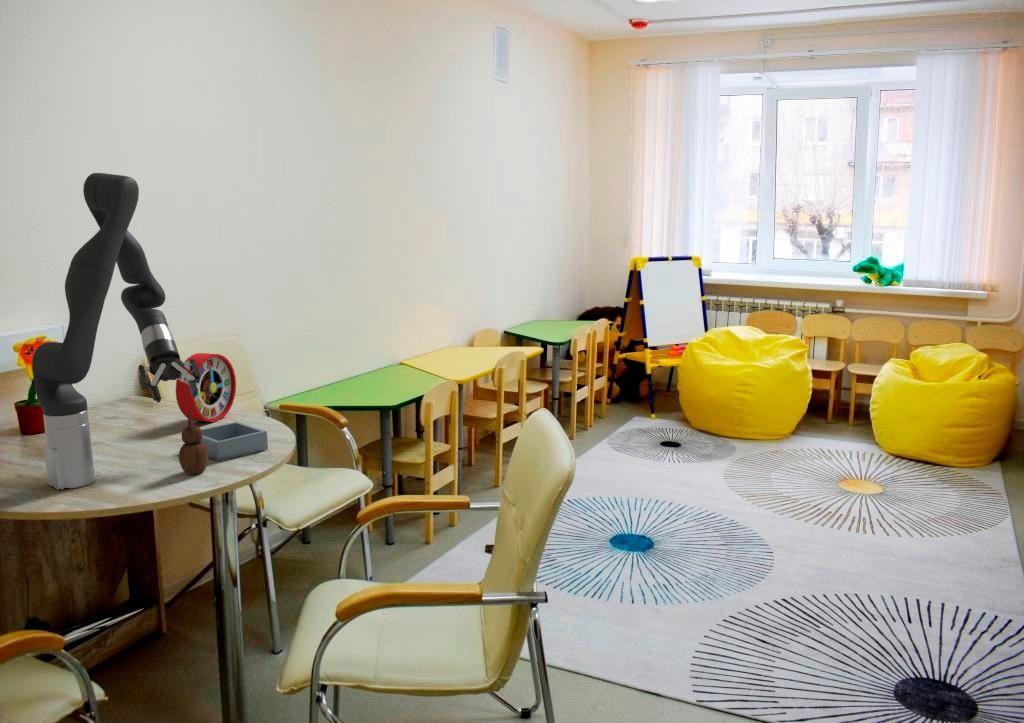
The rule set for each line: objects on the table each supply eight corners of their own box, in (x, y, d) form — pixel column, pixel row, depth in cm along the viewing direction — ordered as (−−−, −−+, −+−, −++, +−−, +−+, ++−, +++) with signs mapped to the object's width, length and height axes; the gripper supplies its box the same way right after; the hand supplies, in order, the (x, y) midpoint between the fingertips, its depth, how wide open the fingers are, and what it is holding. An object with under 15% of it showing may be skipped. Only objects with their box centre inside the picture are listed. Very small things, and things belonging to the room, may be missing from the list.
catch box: (218, 461, 223) (217, 442, 222) (190, 450, 233) (188, 432, 232) (268, 449, 233) (266, 431, 232) (238, 439, 243) (237, 421, 242)
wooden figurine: (198, 477, 211) (193, 415, 208) (176, 476, 212) (171, 415, 209) (213, 468, 217) (208, 409, 214) (192, 467, 218) (187, 408, 216)
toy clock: (195, 429, 253) (189, 360, 250) (178, 428, 255) (172, 359, 251) (238, 412, 272) (233, 348, 268) (222, 411, 274) (217, 347, 270)
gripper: (132, 340, 220) (149, 393, 213) (190, 334, 228) (208, 385, 221) (128, 358, 225) (145, 411, 218) (185, 351, 233) (203, 402, 226)
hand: (177, 398), depth 220 cm, fingers open, 8 cm apart
